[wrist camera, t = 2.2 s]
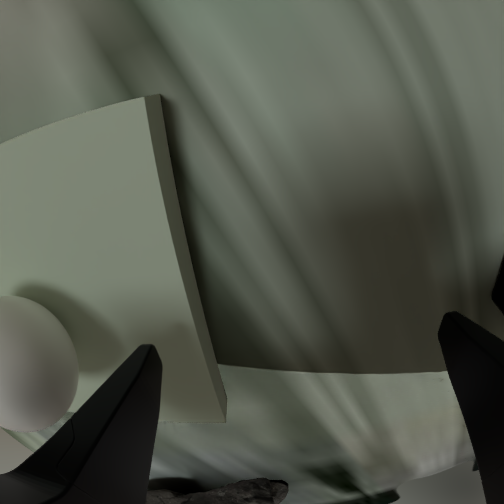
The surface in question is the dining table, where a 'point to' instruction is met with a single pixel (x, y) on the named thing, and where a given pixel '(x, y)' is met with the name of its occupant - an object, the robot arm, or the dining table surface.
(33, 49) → the dining table surface
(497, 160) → the dining table surface
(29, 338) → the ball
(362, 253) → the dining table surface
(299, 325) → the dining table surface
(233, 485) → the stone
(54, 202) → the panel
